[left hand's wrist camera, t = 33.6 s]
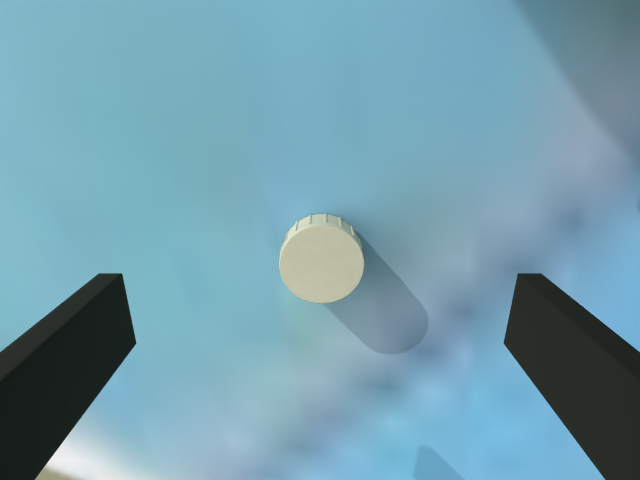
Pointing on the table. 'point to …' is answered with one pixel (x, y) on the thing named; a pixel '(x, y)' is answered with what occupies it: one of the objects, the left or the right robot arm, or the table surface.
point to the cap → (321, 259)
